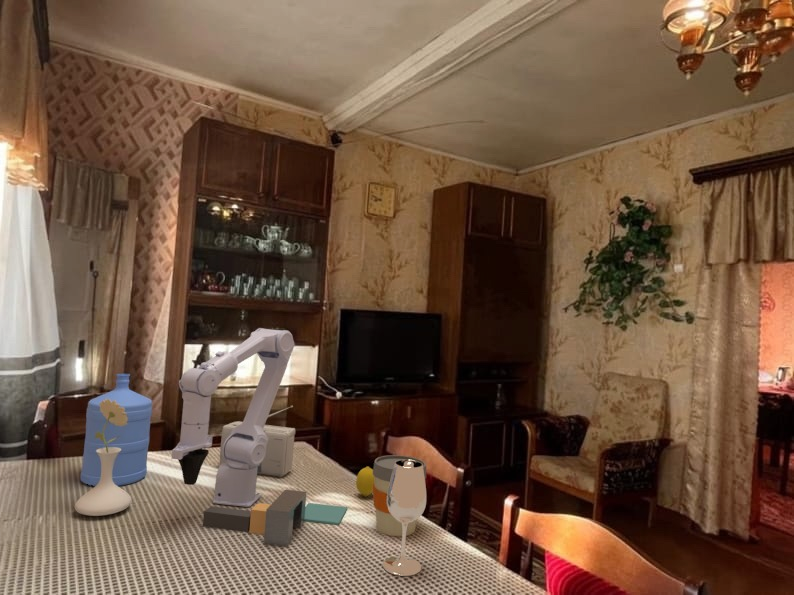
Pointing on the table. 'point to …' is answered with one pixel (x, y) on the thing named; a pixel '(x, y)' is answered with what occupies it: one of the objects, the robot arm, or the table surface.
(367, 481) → the lemon
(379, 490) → the reusable coffee cup
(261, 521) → the plug
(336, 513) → the mat
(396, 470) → the wineglass
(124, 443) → the water jug
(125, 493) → the flower in vase
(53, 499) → the table surface
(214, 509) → the push rod
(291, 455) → the stereo radio cassette player
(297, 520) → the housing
